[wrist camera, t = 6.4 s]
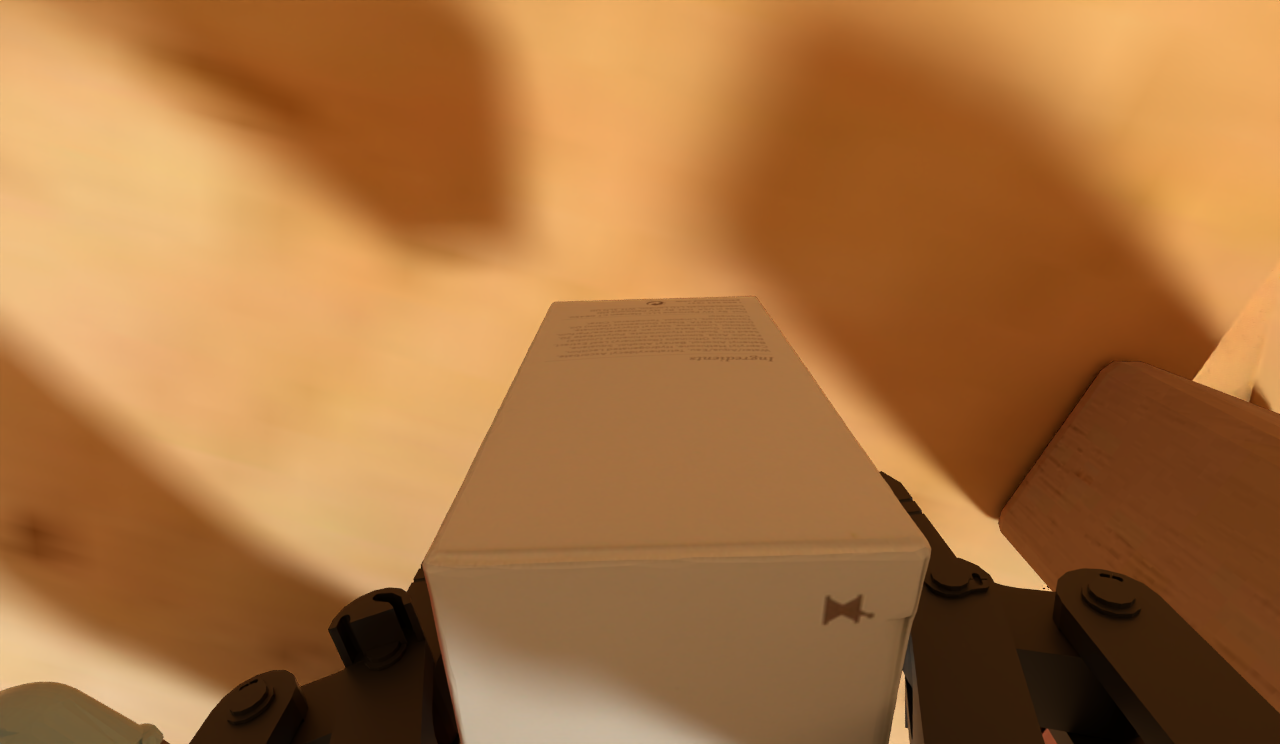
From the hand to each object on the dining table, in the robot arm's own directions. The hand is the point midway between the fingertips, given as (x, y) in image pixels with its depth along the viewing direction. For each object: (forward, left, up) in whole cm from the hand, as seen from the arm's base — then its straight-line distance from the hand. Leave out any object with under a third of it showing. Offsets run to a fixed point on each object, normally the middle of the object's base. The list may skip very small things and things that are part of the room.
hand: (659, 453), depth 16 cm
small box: (0, 0, -2) cm, 2 cm away
